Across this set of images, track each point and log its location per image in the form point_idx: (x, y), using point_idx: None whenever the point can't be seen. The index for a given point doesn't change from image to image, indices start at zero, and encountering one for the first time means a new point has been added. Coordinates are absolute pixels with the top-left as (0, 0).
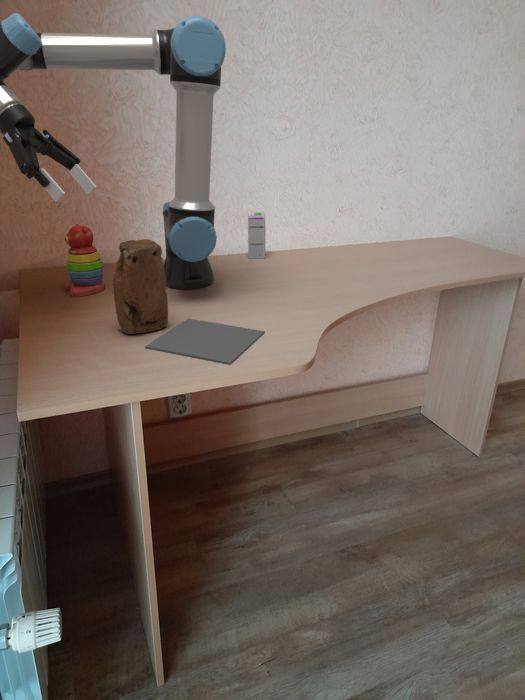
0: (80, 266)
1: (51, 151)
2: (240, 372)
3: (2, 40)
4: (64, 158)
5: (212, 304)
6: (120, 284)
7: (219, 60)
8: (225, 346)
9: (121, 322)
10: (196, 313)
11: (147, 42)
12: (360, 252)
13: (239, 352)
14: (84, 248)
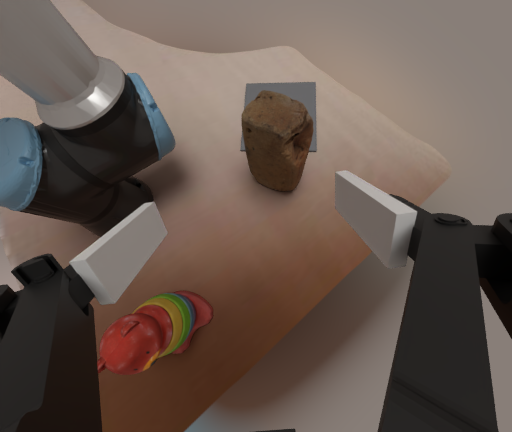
0: (185, 313)
1: (71, 412)
2: (323, 73)
3: None
4: (68, 320)
5: (192, 149)
6: (307, 153)
7: None
8: (288, 96)
9: (299, 180)
10: (221, 152)
11: None
12: None
13: (295, 83)
14: (156, 318)
